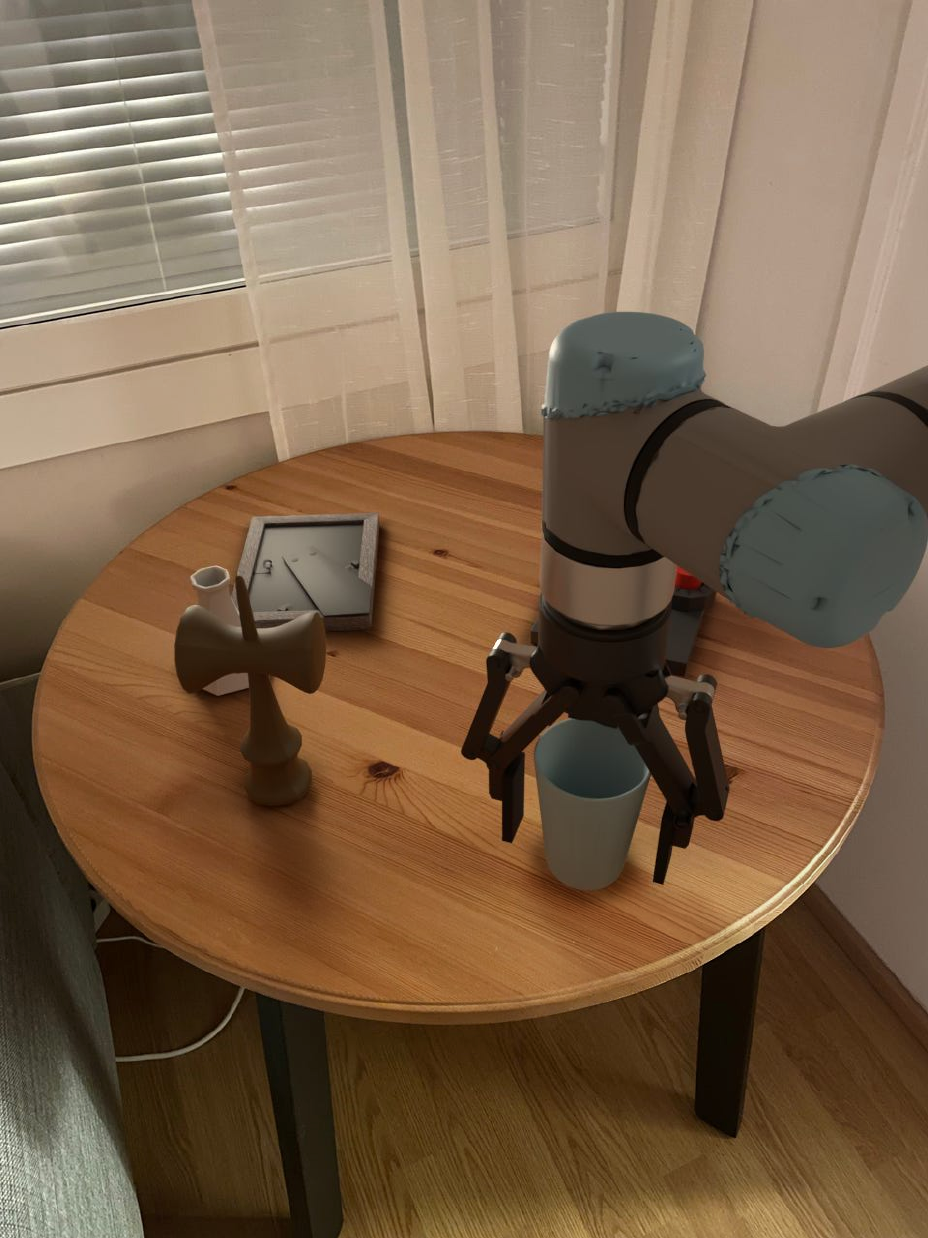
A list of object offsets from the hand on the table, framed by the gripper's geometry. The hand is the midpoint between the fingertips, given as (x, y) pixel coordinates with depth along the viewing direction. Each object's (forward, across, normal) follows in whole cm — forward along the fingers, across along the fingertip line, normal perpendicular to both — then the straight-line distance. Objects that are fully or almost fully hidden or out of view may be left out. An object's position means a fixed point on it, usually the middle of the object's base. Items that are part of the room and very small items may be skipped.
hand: (585, 848), depth 71 cm
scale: (+1, +4, -28) cm, 28 cm away
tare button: (-1, -1, -32) cm, 32 cm away
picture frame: (+1, +35, -25) cm, 43 cm away
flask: (+1, +35, -10) cm, 36 cm away
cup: (+1, 0, 0) cm, 1 cm away
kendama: (+1, +24, +1) cm, 24 cm away
